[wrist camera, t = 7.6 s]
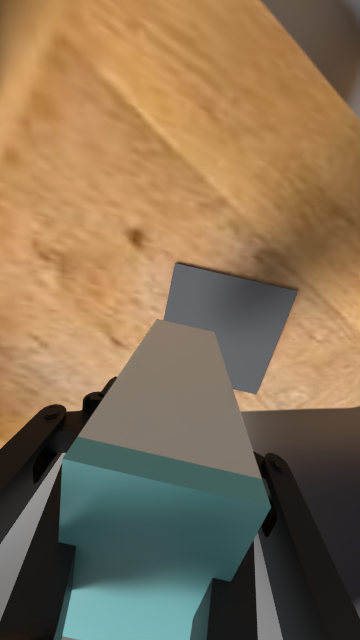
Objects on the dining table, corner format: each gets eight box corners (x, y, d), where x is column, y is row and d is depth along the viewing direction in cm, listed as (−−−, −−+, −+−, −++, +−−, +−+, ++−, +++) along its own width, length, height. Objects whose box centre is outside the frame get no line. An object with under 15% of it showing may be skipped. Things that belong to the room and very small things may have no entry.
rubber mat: (175, 263, 27) (175, 263, 27) (295, 290, 27) (297, 291, 27) (154, 368, 33) (153, 370, 32) (255, 392, 33) (256, 394, 32)
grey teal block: (157, 318, 16) (62, 458, 4) (214, 332, 16) (271, 506, 4) (140, 404, 18) (54, 633, 7) (190, 415, 18) (185, 665, 7)
